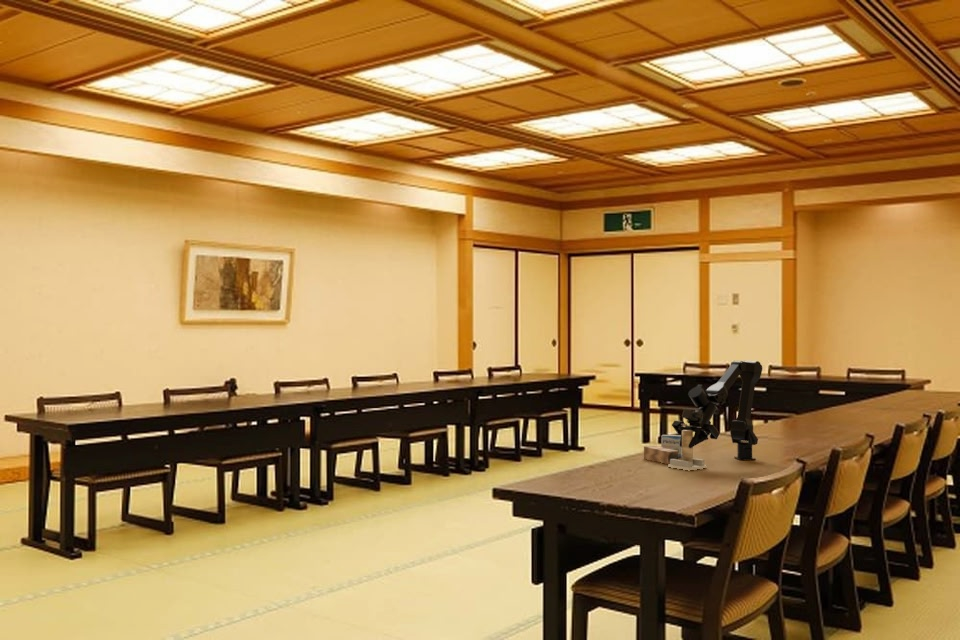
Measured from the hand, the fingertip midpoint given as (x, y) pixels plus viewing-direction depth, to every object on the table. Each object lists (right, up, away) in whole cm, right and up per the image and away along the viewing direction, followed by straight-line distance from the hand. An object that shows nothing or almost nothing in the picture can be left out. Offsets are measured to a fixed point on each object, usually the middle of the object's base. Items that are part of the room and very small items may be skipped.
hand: (684, 446), depth 335 cm
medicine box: (+2, -8, +30) cm, 31 cm away
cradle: (+1, -8, +1) cm, 8 cm away
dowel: (+1, -7, +1) cm, 7 cm away
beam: (-6, -8, +17) cm, 20 cm away
